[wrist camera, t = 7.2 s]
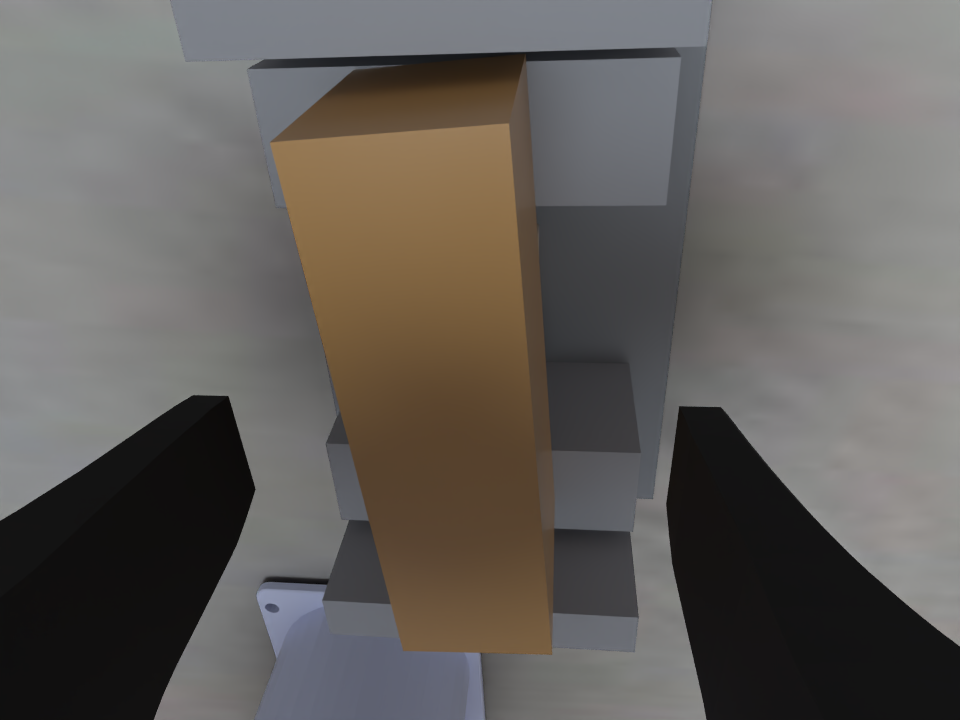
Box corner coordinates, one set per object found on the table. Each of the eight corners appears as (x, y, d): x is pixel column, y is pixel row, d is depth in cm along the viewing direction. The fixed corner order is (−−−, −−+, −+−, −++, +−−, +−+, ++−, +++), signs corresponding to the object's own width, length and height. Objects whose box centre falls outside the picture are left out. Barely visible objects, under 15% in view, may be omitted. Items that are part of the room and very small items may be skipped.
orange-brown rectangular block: (339, 70, 12) (249, 143, 8) (525, 53, 11) (508, 123, 8) (424, 500, 17) (390, 650, 14) (554, 499, 16) (552, 654, 13)
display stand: (649, 475, 22) (677, 670, 16) (358, 465, 23) (293, 647, 17) (717, -123, 13) (818, -130, 8) (256, -98, 14) (71, -89, 9)
